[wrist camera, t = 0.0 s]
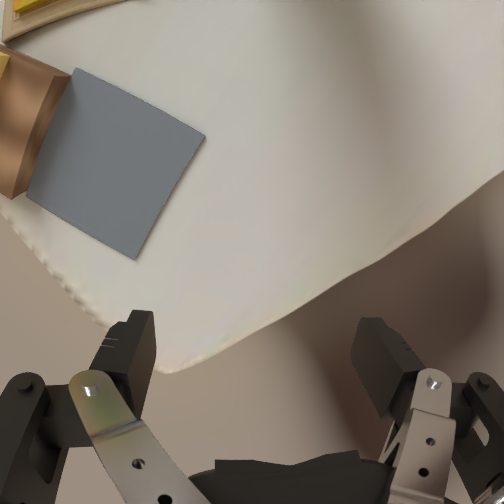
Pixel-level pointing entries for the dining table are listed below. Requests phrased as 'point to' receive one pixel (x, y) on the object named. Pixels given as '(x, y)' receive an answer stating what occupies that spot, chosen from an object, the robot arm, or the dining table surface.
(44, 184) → the slate mat
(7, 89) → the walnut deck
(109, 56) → the dining table surface
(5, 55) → the ochre tile
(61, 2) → the wooden puzzle
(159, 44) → the dining table surface
